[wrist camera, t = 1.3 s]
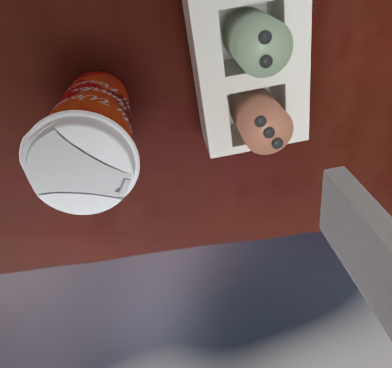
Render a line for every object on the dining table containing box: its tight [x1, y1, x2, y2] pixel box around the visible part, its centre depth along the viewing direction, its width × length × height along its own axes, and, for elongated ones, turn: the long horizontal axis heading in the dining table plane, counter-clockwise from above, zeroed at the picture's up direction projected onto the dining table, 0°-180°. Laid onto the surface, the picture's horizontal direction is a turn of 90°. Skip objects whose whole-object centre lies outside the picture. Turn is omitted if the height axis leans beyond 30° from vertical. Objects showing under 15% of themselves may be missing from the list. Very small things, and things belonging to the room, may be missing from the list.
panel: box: [182, 0, 312, 159], centre depth 33 cm, size 21×10×6 cm, turn 8°
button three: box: [230, 88, 294, 155], centre depth 34 cm, size 4×4×6 cm
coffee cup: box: [19, 71, 140, 215], centre depth 32 cm, size 8×8×15 cm
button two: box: [222, 7, 293, 78], centre depth 30 cm, size 4×4×6 cm
